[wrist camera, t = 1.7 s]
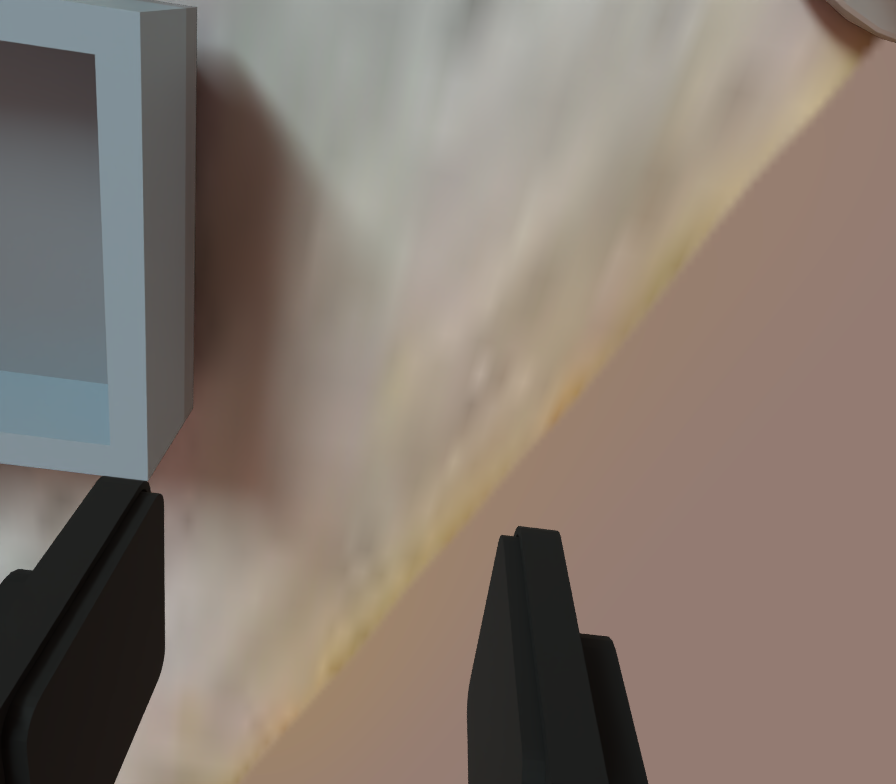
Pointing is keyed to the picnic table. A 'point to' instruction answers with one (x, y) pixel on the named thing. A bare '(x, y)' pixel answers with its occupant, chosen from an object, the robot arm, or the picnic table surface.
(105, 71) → the grey square cubby
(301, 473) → the picnic table surface
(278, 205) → the picnic table surface
